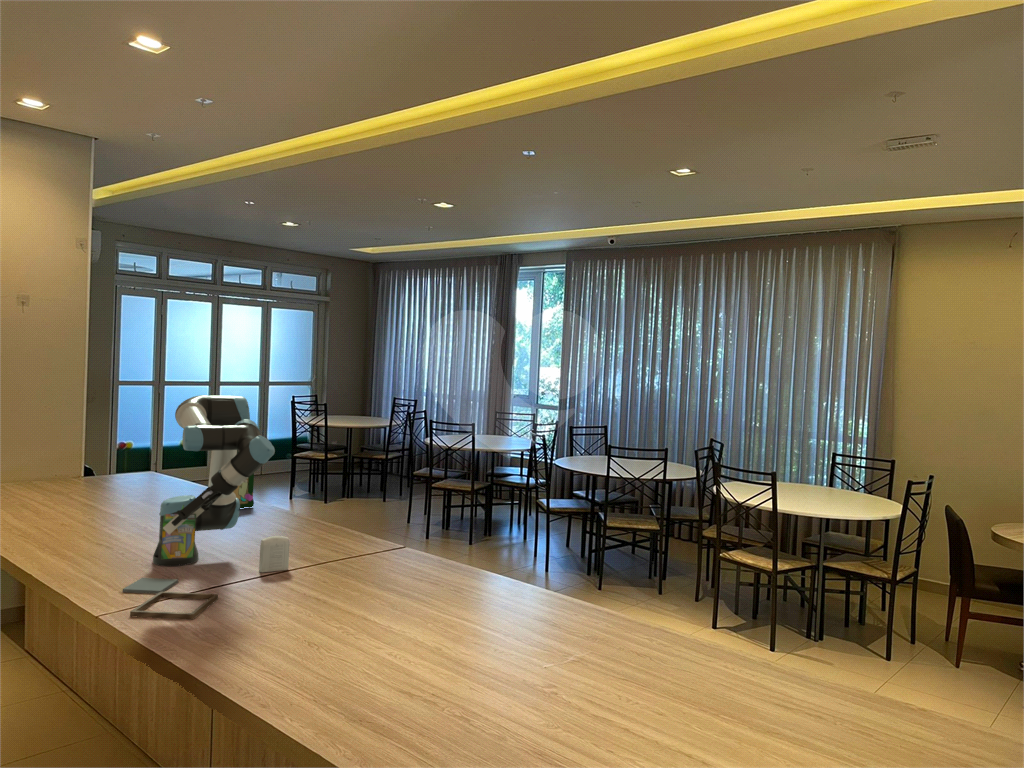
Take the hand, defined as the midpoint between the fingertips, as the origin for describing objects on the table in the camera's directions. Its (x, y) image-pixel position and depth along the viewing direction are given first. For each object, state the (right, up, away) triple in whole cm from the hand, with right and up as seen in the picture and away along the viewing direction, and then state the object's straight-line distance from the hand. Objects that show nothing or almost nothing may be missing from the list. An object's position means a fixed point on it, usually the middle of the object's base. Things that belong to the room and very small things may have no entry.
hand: (176, 526), depth 211 cm
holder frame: (0, -25, +1) cm, 25 cm away
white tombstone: (+15, -25, +42) cm, 51 cm away
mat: (-16, -23, +17) cm, 33 cm away
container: (-39, -19, +141) cm, 148 cm away
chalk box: (0, -9, 0) cm, 9 cm away
